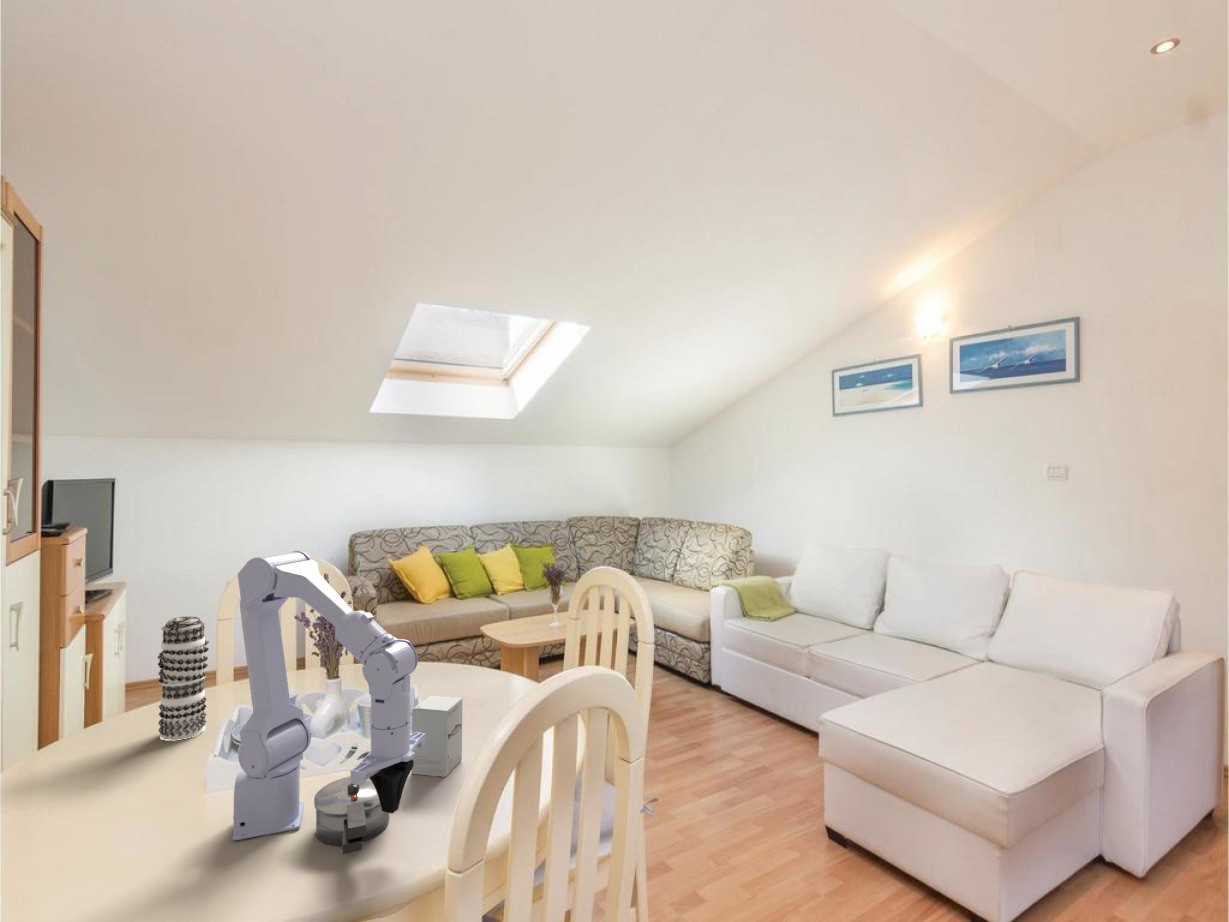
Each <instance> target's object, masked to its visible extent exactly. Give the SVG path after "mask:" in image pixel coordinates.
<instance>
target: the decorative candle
mask: <svg viewBox="0 0 1229 922" xmlns="http://www.w3.org/2000/svg"><path fill="white" fill-rule="evenodd" d="M205 625H206V622H204V621H202V620H201V619H200V618H199V617H197V616H191V615H190V616H189V615H188V616H180V617H173V618H171V619H169V620H168V621H166V623H165V625H164V626H162V627H160V630H161V631H162V641H161V646H160V647H161V650H162V651H161V652H159V654H158V656H157V659H158V660H159V661H158V663H157V666H158V667H159V668H160V670H159V672H158V676H159V677H160V678H158V682H159V685H160V686H162V688H161V693H162V694H161V696H160V705H158V708H159V710H160V712H159V713H158V716H159V717H160V718H161V719H160V720H158V725H159V728H158V732H159V736H161V735H162V736H161V737H163V738H164V739H171V740H177V739H184V738H189V737H192V736H195V735H197V734H200V733H201V732H203V731H204V730H205V731H206V729H205V728H206V723H207V720H206V717H207V713H206V708H207V705H206V704H205V703H206V701H207V697H205V688H204V687H205V686H204V685H205V682H204V681H205V679H206V677H207V673H206V672H205V671H204V670H205V669H206V668H207V667H208V666H209V665H208V663H206V661H207V660H208V658H209V657H208V656H205V655H204V654H205V653H206V652H208V651H209V649H210V648H209V647H207V645H209V643H210V641H209V640H206V637H205ZM205 731H204V732H205ZM204 732H203V733H204ZM160 734H161V735H160ZM200 735H201V734H200Z"/></svg>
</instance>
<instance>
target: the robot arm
mask: <svg viewBox="0 0 1229 922" xmlns="http://www.w3.org/2000/svg"><path fill="white" fill-rule="evenodd" d="M319 566H320V565H319V563H318V562H317V561H315V560H313V558H312V557H311V556H310V555H309V554H308V553H307V552H305V551H303V550H294V551H292V552H285V553H282V554H275V555H274V554H273V555H269V556H263V557H262V556H261V557H253V558H251V559H249V560H248V561H247V562H246V563H245V564H244V565H243V566H242V568H241V570H239V572H238V573H237V579H238V587H239V588H238V589H239V594H240V599H239V601H240V602H239V611H240V619H241V627H242V635H243V643H244V650H245V656H246V665H247V666H246V667H247V674H248V675H247V676H248V683H249V690H250V697H251V698H250V699H251V705H252V714H251V715H250V717H249V718H248V720H247V721H246V722H245V724H244V725H243V726H242V728H241V729H240V731H239V734H240V735H239V736H240V745H239V749H238V755H237V757H238V762H239V765H240V768H241V769H242V771H240V772H238V773H237V774H236V778H235V782H234V788H233V790H234V791H233V819H232V820H233V824H232V825H233V828H232V829H233V833H232V834H233V835H232V841H239V840H245V839H249V838H250V839H251V838H256V837H262V836H267V835H272V834H278V833H283V832H288V831H294V830H298V829H299V828H301V824H302V817H303V811H304V806H305V805H304V802H300V793H301V791H300V788H301V787H300V782H301V780H300V775H301V773H300V771H301V770H300V769H301V768H300V767H301V766H300V763H301V761H302V760H303V759H304V753H305V752H306V751H307V750H308V748H309V747H310V744H311V739H312V735H311V730H310V728H309V725H308V723H307V722H306V720H305V716H304V710H303V709H302V708H300V707H298V706H296V705H295V704H293V703H291V698H290V696H291V695H290V691H289V689H290V688H289V682H288V676H287V667H286V659H285V653H284V644H283V637H282V629H281V621H280V615H279V613H280V612H279V610H280V609H281V608H282V607H283V605H284V604H285V603H286V601H288V599H289V598H297V599H298V598H299V599H300V600H302V601H303V602H304V603H306V604H307V605H309V607H311V608H312V609H313V610H314V611H315V612H317V613H318V614H319V615H321V617H323V618H324V619H325V620H327V622H329V623H330V624H331V625H333V627H335V628H334V629H335V630H334V638H335V640H336V641H338V642H339V643H340V644H341V645H342V646H343V647H344V648H345V649H346V650H347V651H348V652H349V653H350V654H351V655H352V656H353V657H354V658H355V659H356V660H357V661H358V662H359V663H360V664H361V665H362V667H361V669H362V674H363V677H364V680H365V681H366V682H367V684H368V693H369V695H370V751H369V752H368V753H367V754H366V756H365V757H363V759H362V760H361V761H360V762H359V764H358V763H357V765H355V767H353V768H352V769H351V770H350V783H351V784H355V785H359V786H362V785H363V784H365V783H366V779H368V778H370V780H371V781H372V783H373V785H374V787H375V789H376V791H377V794H378V797H379V801H380V804H381V808H382V811H383V812H387V813H389V814H392V815H393V814H394V813H395V812H396V811H398V810H399V807H400V803H401V800H402V795H403V791H404V787H405V785H406V782H407V780H408V777H409V775H410V773H411V770H412V768H413V766H414V761H413V760H412V759H413V758H414V752H413V751H414V750H415V749H416V748H417V747H423V746H425V743H426V734H425V733H420V732H415V733H413V734H412V733H410V732H411V674H412V673H413V672H414V671H415V670H416V668H417V665H418V662H419V661H418V660H419V656H418V652H417V650H416V649H415V646H414V645H413V644H412V643H411V641H409V640H407V639H404V638H397V637H395V636H393V635H392V634H391V633H388V632H387V630H385V629H384V627H382V626H381V625H380V624H379V623H378V622H377V621H376V620H375V619H374V618H375V616H374V615H373V614H372V613H371V612H366V611H365V610H353V609H352V608H351V607H350V606H349V604H347V603H346V601H345V600H344V599H343V598H342V597H341V596H340V595H339V593H338V592H336V590H335V589H334V588H333V587H332V586H331V585H330V583H328V582H327V580H326V579H325V578H324V576H322V574H320V569H319V568H320V567H319Z"/></svg>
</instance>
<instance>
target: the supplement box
mask: <svg viewBox="0 0 1229 922" xmlns="http://www.w3.org/2000/svg"><path fill="white" fill-rule="evenodd" d="M411 712H412V713H411V716H412V717H411V718H412V719H411V734H413V733H415V732H420V733H425V734H426V743H425V746H423V747H417V748H416V749H415V750H414V751H413V752H414V758H413V759H412V760H413V761H414V766H413V768H412V770H411V771H410V773H411V774H414V775H420V776H431V777H437V776H442V777H441V778H447V776H448V775H449V774H450V773H451V771H453V769H455V767H456V766H457V765H458V764H460V763H461V761H462V760H463V758H462V757H463V755H462V754H463V753H462V752H463V697H454V696H444V695H443V696H441V695H440V696H439V695H429V696H428V697H426V698H425V699H424V700H422V701H420V702H419V703H418V704H417V705H415V706H414V707H413V708H412V711H411Z"/></svg>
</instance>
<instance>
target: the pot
mask: <svg viewBox="0 0 1229 922" xmlns="http://www.w3.org/2000/svg"><path fill="white" fill-rule="evenodd" d="M315 815H316V816H315V835H316V837H315V838H316V839H317V841H319V843H322V844H323V845H326V846H329V845H331V847H342V855H346V854H347V855H348V854H351V853H357V852H361V851H362V852H363V843H365V842H367V841H370V840H372V839H374V838H376V837H377V836H379V835H380V834H382V833H383V832H384V831H385V830H386V828H387V827H388V825H389V824H390V813H387V812H383V811H382V808H381V805H379V806H377V807H376V808H373V809H371V810H369V811H366V812H365V820H366V836H362V837H358V838H353V839H349V840H348V830H347V816H329V815H325V814H322V813H320V812H318V811H317V810H316V809H315Z"/></svg>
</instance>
